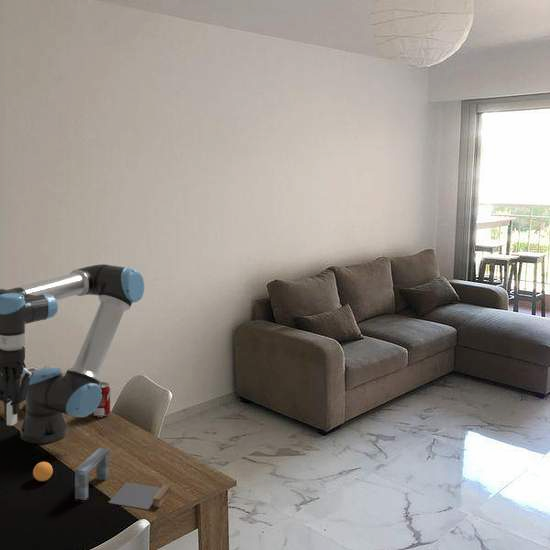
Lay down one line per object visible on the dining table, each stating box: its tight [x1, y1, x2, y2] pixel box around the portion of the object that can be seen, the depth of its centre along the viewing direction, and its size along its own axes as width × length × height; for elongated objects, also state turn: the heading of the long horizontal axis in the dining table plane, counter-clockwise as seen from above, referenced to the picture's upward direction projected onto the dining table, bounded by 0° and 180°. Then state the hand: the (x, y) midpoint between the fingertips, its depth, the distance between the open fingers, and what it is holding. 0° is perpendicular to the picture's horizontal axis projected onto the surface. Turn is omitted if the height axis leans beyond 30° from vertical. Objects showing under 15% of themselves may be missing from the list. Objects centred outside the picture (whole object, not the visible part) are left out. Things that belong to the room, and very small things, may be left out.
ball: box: [32, 461, 54, 482], centre depth 184 cm, size 6×6×6 cm
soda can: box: [91, 381, 111, 418], centre depth 233 cm, size 7×7×12 cm
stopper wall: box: [152, 484, 171, 508], centre depth 177 cm, size 2×8×2 cm, turn 168°
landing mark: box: [107, 481, 162, 511], centre depth 178 cm, size 12×12×1 cm
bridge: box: [74, 447, 110, 501], centre depth 180 cm, size 3×14×9 cm, turn 168°
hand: (12, 423), depth 183 cm, fingers closed
